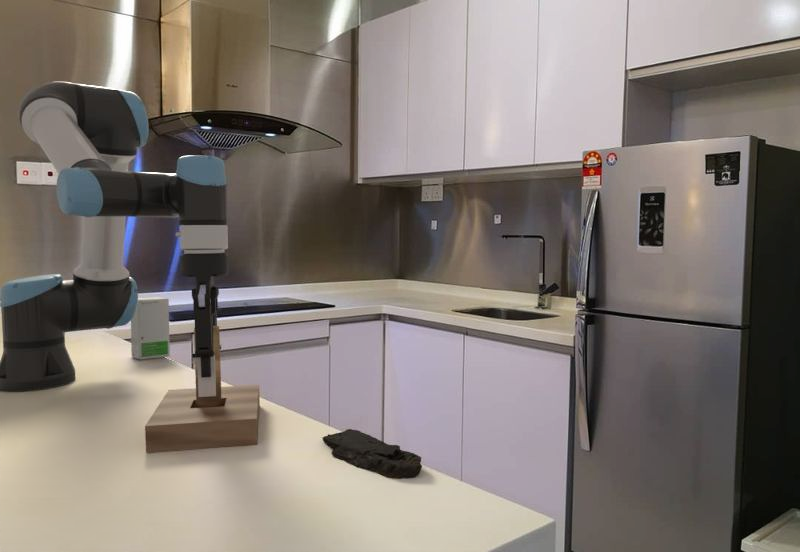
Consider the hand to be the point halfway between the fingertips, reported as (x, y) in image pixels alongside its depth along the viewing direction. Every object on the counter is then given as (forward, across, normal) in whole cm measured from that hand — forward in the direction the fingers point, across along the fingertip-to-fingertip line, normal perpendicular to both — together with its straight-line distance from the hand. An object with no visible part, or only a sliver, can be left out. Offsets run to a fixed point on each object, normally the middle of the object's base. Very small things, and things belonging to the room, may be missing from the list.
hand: (208, 392), depth 104 cm
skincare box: (+6, -67, -21) cm, 71 cm away
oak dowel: (+3, 0, 0) cm, 3 cm away
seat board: (+6, 0, 0) cm, 6 cm away
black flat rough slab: (+7, +20, +24) cm, 31 cm away
